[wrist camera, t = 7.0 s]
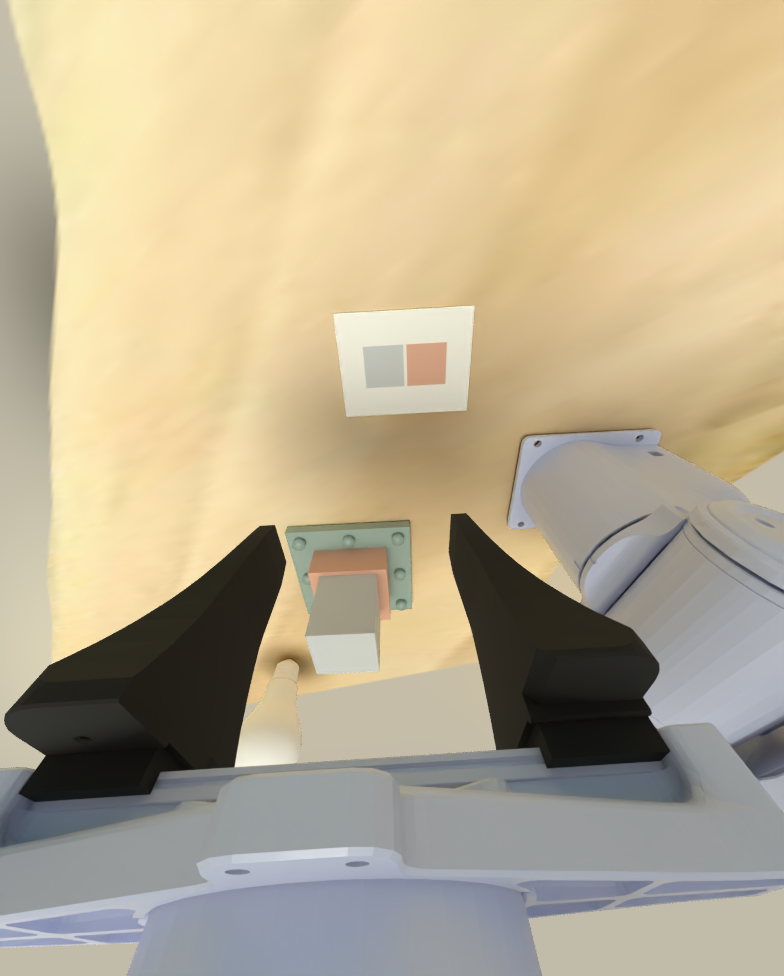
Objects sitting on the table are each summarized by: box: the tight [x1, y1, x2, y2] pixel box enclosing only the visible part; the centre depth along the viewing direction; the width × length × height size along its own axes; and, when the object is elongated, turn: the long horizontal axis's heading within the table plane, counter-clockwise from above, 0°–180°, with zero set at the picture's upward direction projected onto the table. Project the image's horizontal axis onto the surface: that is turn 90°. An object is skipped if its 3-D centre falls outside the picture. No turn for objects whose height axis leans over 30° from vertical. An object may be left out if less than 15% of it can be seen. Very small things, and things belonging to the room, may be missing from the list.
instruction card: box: [333, 306, 475, 417], centre depth 19 cm, size 8×6×1 cm
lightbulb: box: [235, 659, 302, 767], centre depth 31 cm, size 6×6×11 cm
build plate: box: [285, 521, 412, 614], centre depth 27 cm, size 10×10×1 cm
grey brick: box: [305, 573, 380, 674], centre depth 23 cm, size 4×4×5 cm
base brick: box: [308, 547, 390, 620], centre depth 26 cm, size 6×6×2 cm
